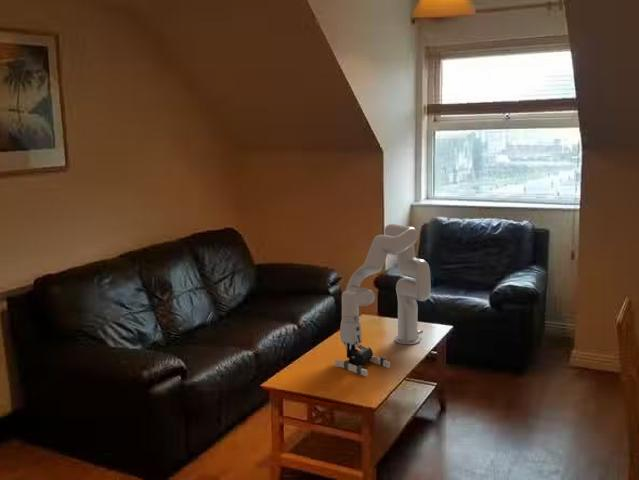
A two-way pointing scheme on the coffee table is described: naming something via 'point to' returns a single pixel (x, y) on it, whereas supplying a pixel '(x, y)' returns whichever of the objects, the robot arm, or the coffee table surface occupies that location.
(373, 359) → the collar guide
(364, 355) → the end cap
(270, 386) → the coffee table surface
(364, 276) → the robot arm
